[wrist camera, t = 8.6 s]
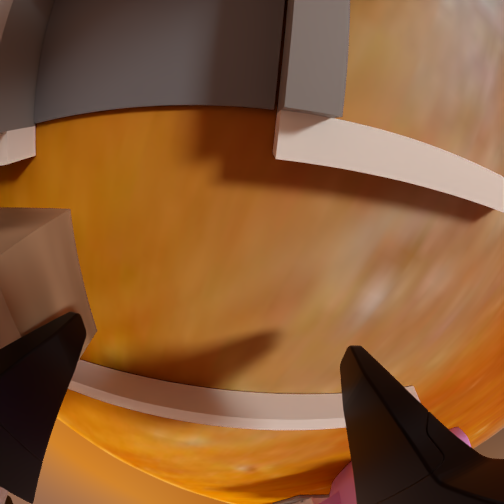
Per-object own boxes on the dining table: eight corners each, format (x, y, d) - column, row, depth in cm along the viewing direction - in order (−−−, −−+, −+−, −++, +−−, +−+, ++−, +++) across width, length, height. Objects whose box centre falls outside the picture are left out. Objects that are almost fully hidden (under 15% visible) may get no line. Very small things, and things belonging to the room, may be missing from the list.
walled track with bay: (508, 37, 4) (544, 34, 2) (404, 397, 13) (416, 428, 11) (-38, 46, 4) (-65, 48, 1) (-1, 335, 13) (-18, 355, 10)
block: (73, 207, 9) (-9, 261, 5) (98, 327, 11) (57, 397, 7) (-22, 206, 9) (-77, 240, 5) (4, 298, 11) (-36, 342, 7)
